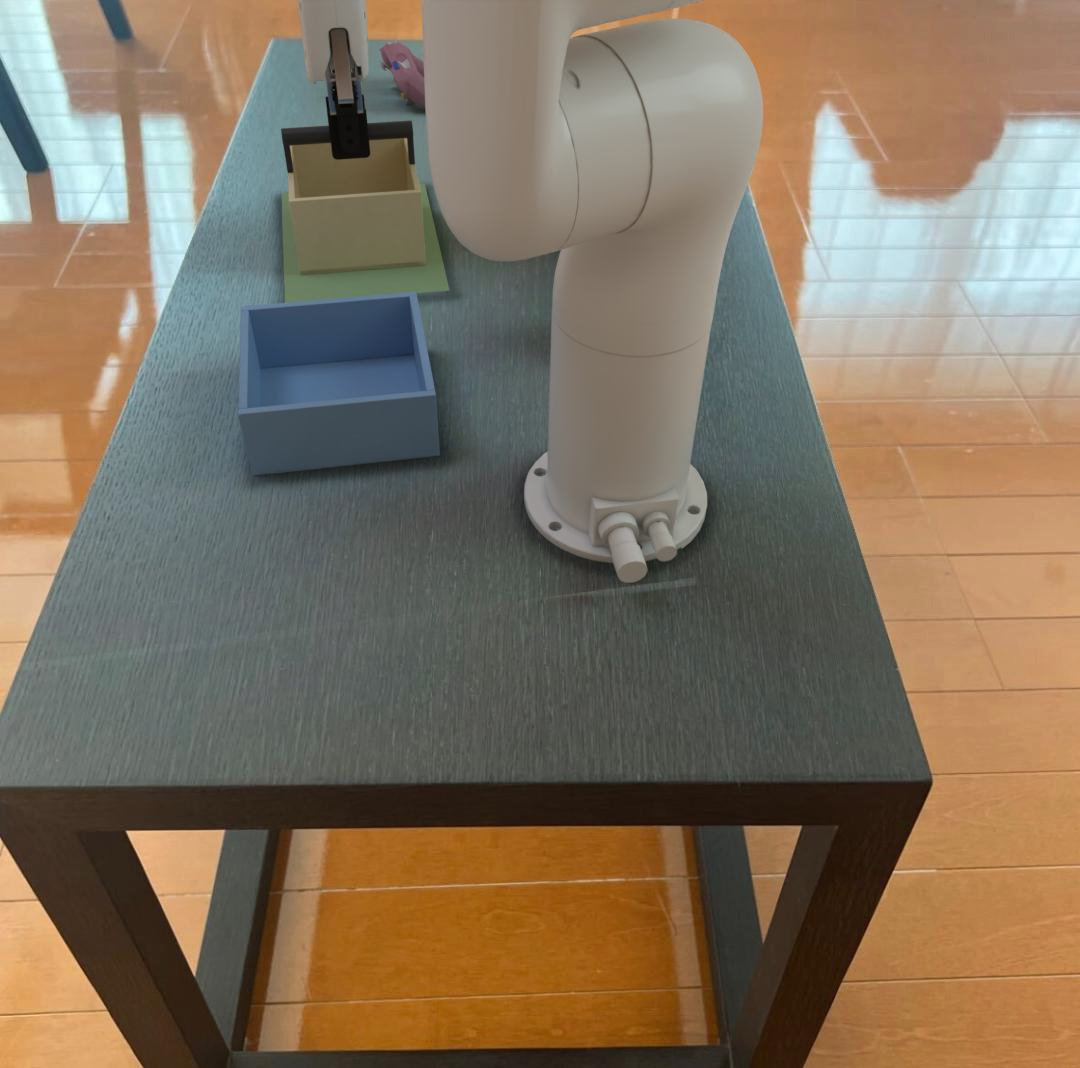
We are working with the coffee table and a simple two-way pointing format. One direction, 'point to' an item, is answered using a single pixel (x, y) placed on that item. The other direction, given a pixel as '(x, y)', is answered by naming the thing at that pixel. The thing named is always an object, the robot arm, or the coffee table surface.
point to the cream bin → (355, 201)
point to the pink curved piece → (405, 71)
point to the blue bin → (335, 383)
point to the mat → (364, 280)
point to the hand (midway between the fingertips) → (350, 148)
